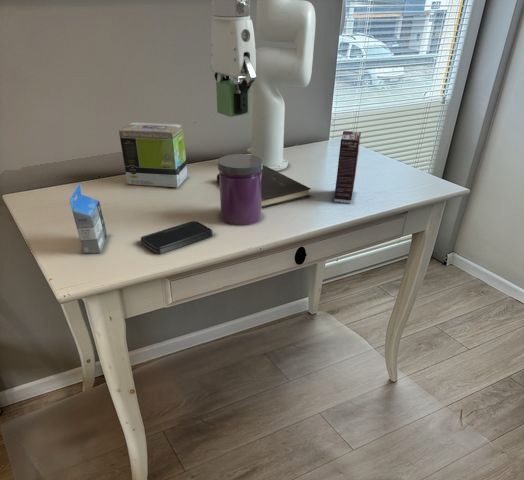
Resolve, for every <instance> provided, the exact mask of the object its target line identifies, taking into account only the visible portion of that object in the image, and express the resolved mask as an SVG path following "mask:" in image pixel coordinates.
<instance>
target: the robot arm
mask: <svg viewBox="0 0 524 480" xmlns="http://www.w3.org/2000/svg"><path fill="white" fill-rule="evenodd" d="M210 1H211V2H210V3H211V19H212V20H211V33H210V35H211V39H210V50H211V51H210V55H211V65H210V70H211V72H212V74H213V76H214V80H215V81H216V82H219V81H227V80H232V78H233V80H234V84H235V90H236V93H235V94H234V113H235V114H237V115H238V114H244V113H247V112H248V93H249V94H250V89H251V106H252V107H251V146H250V148H247V149H246V152H247V154H249V155H254V156H257V157H260V158H261V159H262V160H263V165H265V166H267V167H269V168H271V169H273V170H275V171H277V172H279V171H283V170H285V169H287V167H288V166H289V161H288V160H287V159H286V158H284V140H285V117H286V116H285V115H286V113H285V112H286V104H285V100H284V98H283V96H282V94H281V93H280V91H279V89H278V88H287V89H288V88H289V89H303V88H306V87H307V86H309V84H310V82H311V78H312V73H313V72H312V71H313V64H314V63H313V62H314V49H315V48H314V47H315V38H316V23H317V21H316V19H317V18H316V10H315V7H314V5H313V3H311V2H310V1H308V0H256V18H255V19H256V20H255V21H256V22H255V27H256V33H257V37H259V39H261V40H262V41H265V42H273V43H292V44H295V45H296V47H294V48H293V47H280V46H262V47H258V48H256V40H255V39H256V38H255V30H254V24H253V19H251V0H210ZM240 81H242V83H241V84H240Z"/></svg>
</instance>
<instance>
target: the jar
mask: <svg viewBox="0 0 524 480" xmlns="http://www.w3.org/2000/svg"><path fill="white" fill-rule="evenodd" d="M262 169H263V160H262V159H261V158H260V157H257V156H254V155H251V154H249V153H234V154H233V153H232V154H228V155H224V156H221V157H220V158H218V159H217V170H218V172H219V173H218V174H219V180H220V182H219V200H220V203H219V204H220V219H221V220H222V221H223V222H225V223H226V224H229V225H233V226H234V225H235V226H249V225H252V224H253V225H254V224H256V223H258V222H260V221H261V220H262V211H263V208H262V171H261V170H262Z"/></svg>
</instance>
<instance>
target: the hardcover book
mask: <svg viewBox="0 0 524 480" xmlns="http://www.w3.org/2000/svg"><path fill="white" fill-rule="evenodd" d="M261 171H262V209H264V208H268V207H272V206H276V205H280V204H284V203H289V202H293V201H297V200H302V199H305V198H306V199H307V198H309V197H310V196H311V195H310V194H309V191H310V190H311V188H310V187H308V186H307V185H305V184H303V183H301V182H298V181H297V180H295V179H293V178H291V177H289V176H286V175H285V174H283V173H281V172H279V171H275V170H273V169H271V168H269V167H267V166H265V165H263V169H262V170H261ZM216 181H217V182H218V183H220V180H219V173H218V174H217V175H216Z"/></svg>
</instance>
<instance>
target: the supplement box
mask: <svg viewBox="0 0 524 480" xmlns="http://www.w3.org/2000/svg"><path fill="white" fill-rule="evenodd" d="M361 134H362V132H361V131H353V130H352V131H351V130H343V131H342V136H341V138H340V144H339V152H338V153H339V154H338V161H337V170H336V171H337V172H336V179H335V180H336V181H335V187H334V199H333V202H334V203H340V204H352V199H353V193H354V188H355V181H356V174H357V165H358V160H359V151H360V145H361Z"/></svg>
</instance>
